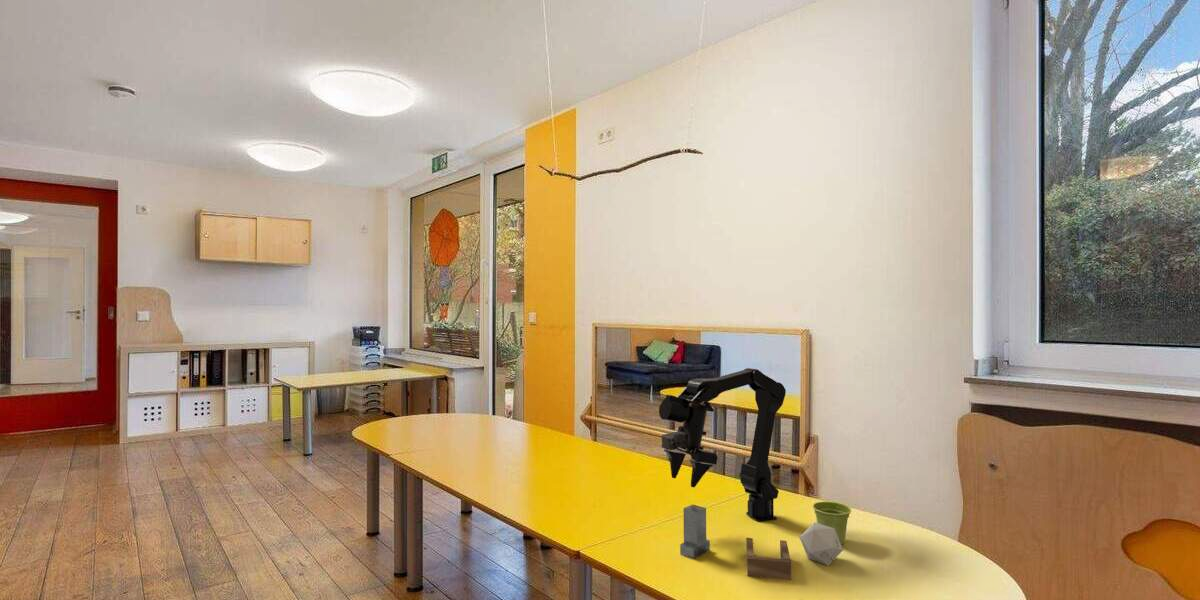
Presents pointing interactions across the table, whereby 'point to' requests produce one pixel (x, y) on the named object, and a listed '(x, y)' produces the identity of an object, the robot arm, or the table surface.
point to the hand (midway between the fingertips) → (682, 482)
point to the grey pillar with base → (694, 532)
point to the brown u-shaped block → (768, 563)
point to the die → (821, 543)
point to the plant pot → (833, 517)
